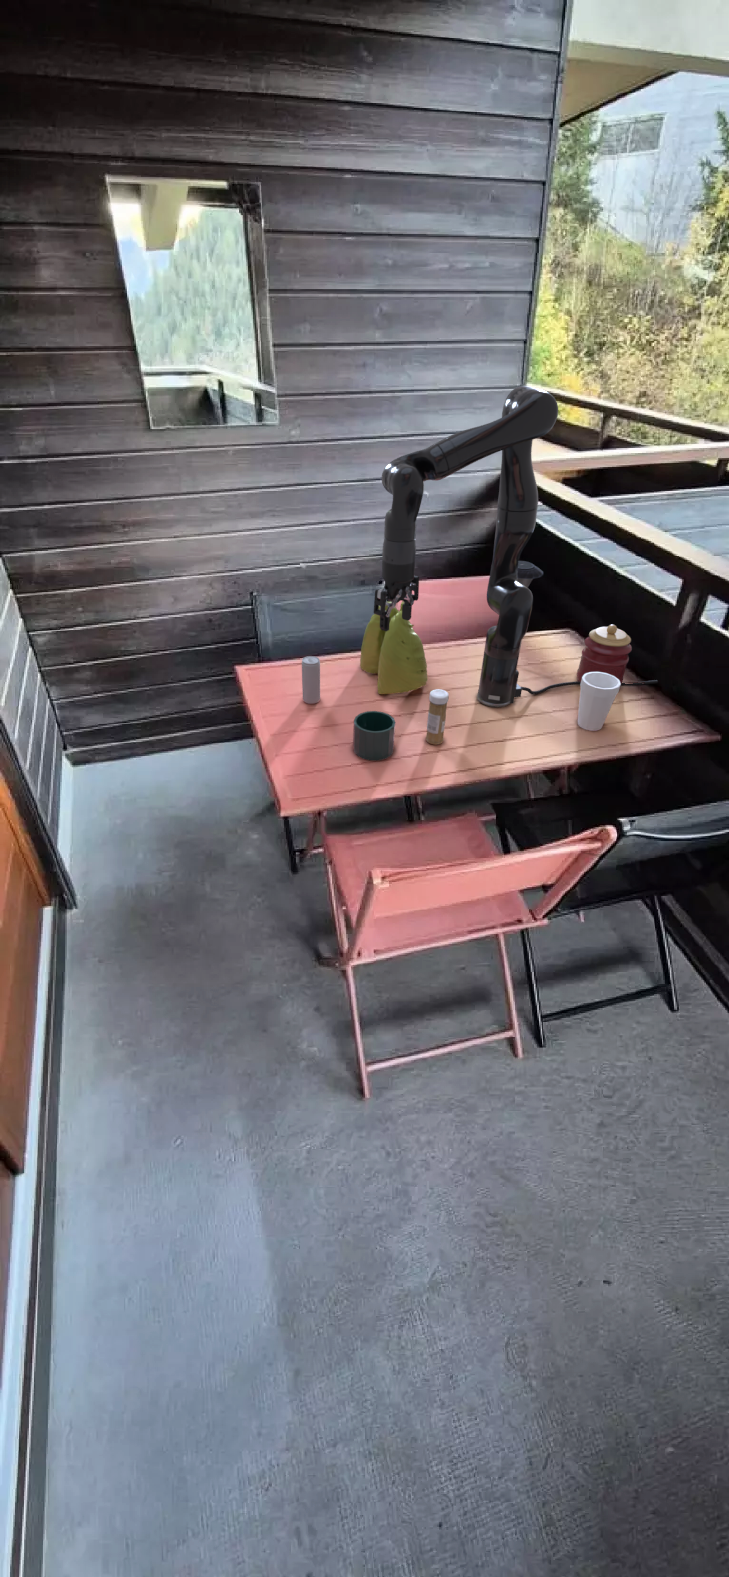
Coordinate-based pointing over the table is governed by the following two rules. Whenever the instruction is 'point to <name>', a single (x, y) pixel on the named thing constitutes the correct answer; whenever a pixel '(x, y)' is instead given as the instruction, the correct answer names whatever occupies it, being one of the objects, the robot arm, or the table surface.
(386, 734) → the cup
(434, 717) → the sprinkles bottle
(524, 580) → the solar garden light
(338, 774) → the table surface
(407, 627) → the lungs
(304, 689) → the beverage can
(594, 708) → the foam cup
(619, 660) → the kitchen canister
